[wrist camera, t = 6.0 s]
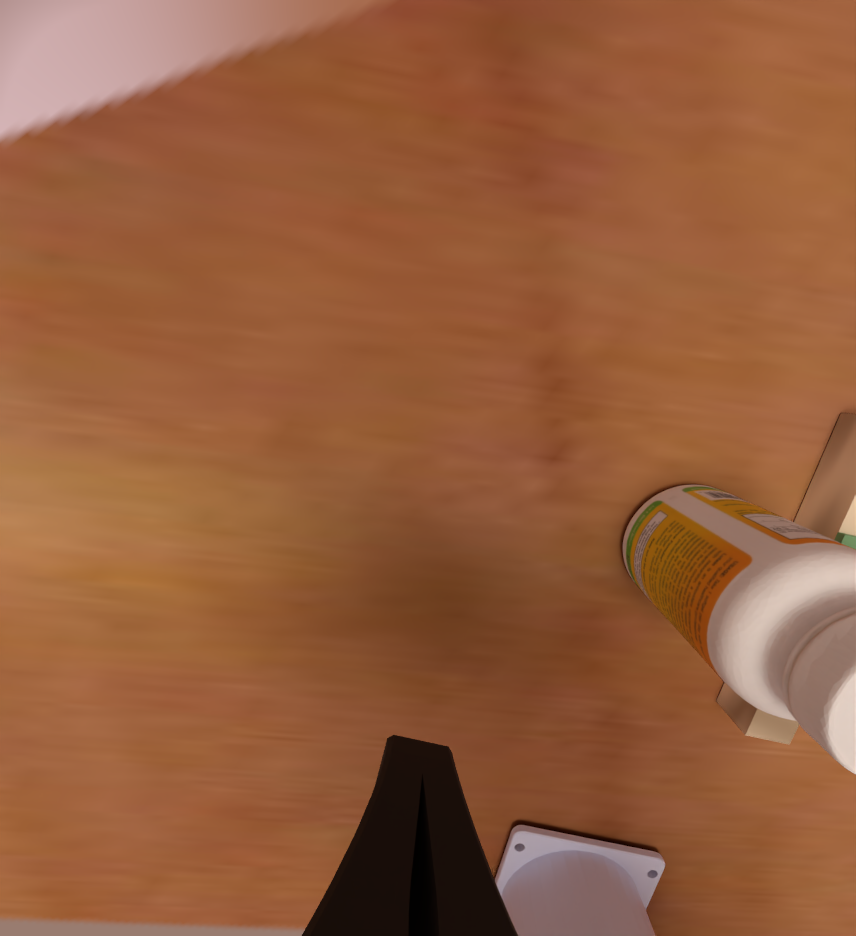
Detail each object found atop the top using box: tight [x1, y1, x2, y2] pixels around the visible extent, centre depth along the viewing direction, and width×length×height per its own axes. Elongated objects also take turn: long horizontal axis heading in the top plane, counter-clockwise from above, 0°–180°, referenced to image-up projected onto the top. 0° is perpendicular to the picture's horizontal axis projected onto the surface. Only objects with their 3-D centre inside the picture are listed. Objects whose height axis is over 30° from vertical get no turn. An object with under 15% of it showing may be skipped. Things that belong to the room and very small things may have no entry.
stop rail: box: [717, 413, 856, 744], centre depth 18 cm, size 14×2×2 cm, turn 167°
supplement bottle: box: [623, 485, 856, 774], centre depth 14 cm, size 5×5×10 cm
